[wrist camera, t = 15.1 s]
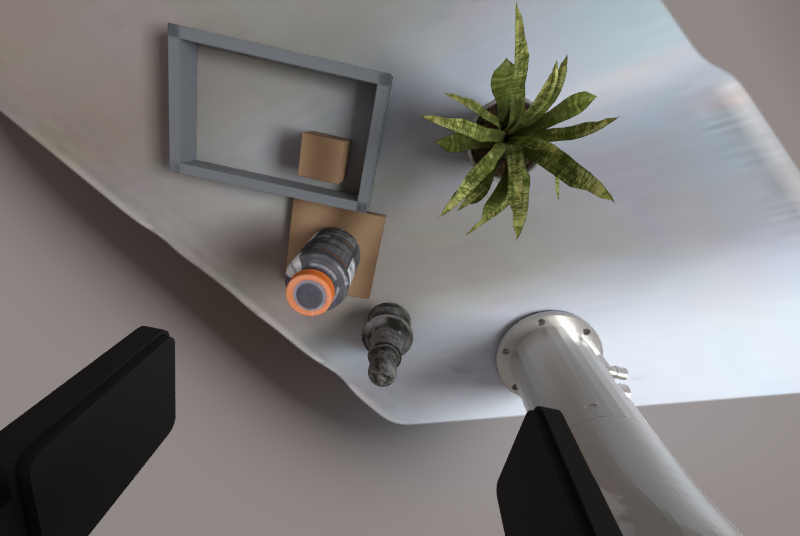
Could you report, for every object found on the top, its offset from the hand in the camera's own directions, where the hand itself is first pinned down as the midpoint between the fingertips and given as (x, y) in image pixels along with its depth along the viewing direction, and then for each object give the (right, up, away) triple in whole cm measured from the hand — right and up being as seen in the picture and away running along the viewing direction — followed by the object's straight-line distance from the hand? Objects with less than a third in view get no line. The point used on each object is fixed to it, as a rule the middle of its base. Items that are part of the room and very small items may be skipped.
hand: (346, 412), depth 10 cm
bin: (-10, +18, +29) cm, 36 cm away
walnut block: (-6, +16, +30) cm, 34 cm away
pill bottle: (-6, +6, +33) cm, 34 cm away
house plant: (+10, +18, +29) cm, 35 cm away
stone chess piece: (0, -3, +37) cm, 37 cm away
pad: (-6, +6, +34) cm, 35 cm away
